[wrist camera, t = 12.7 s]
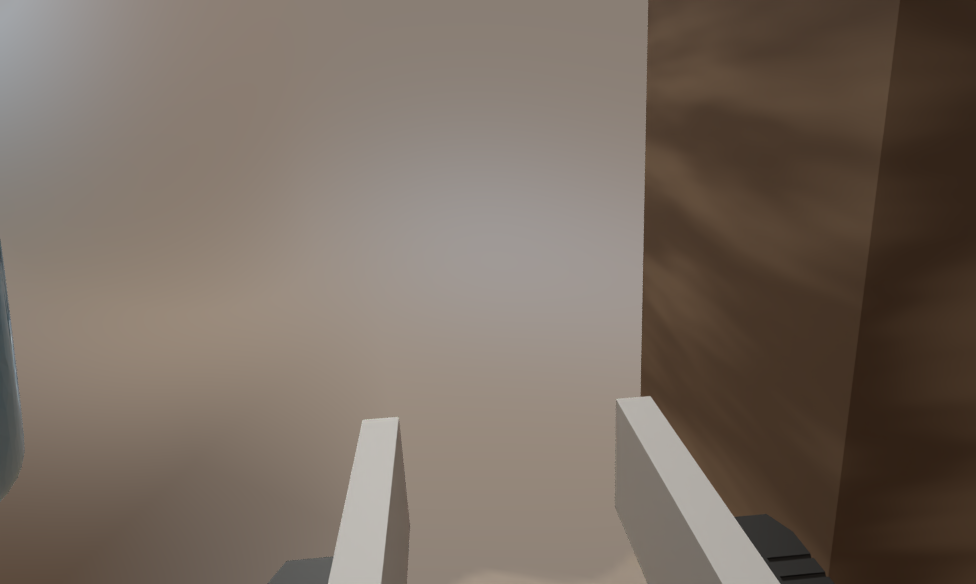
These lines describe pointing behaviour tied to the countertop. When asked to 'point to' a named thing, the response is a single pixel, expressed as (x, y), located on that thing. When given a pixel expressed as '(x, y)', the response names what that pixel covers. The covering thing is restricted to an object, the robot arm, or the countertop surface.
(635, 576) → the countertop surface
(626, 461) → the robot arm
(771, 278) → the brown wooden tall block
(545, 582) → the countertop surface
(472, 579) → the countertop surface
